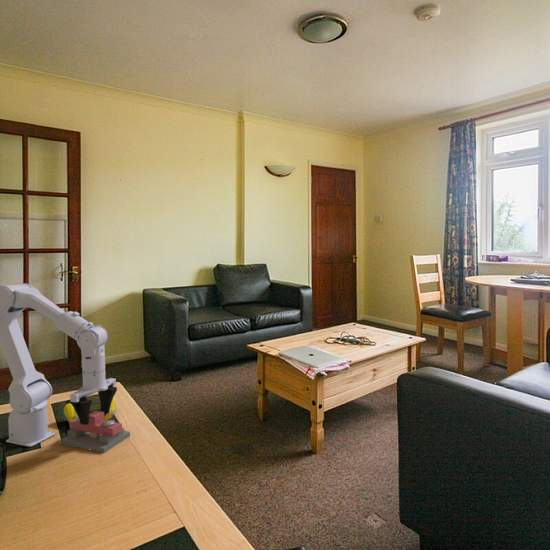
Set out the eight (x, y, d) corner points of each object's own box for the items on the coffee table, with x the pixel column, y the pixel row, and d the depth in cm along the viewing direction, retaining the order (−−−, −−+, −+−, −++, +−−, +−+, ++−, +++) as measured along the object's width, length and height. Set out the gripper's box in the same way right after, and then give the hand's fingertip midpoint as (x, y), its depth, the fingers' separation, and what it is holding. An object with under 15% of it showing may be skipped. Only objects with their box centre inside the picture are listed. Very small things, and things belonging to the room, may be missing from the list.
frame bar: (69, 428, 108) (69, 412, 108) (79, 423, 111) (79, 408, 111) (112, 436, 103) (112, 419, 103) (121, 430, 106) (121, 414, 106)
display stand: (60, 444, 105) (60, 433, 105) (88, 428, 114) (88, 418, 114) (104, 452, 100) (104, 441, 100) (130, 435, 110) (129, 425, 110)
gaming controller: (63, 420, 121) (66, 432, 113) (62, 403, 121) (65, 413, 112) (113, 409, 129) (120, 419, 121) (113, 393, 129) (119, 402, 121)
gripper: (84, 379, 98) (86, 431, 99) (123, 364, 112) (124, 410, 113) (63, 377, 101) (65, 427, 101) (104, 362, 114) (105, 407, 115)
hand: (95, 418), depth 107 cm, fingers open, 7 cm apart
